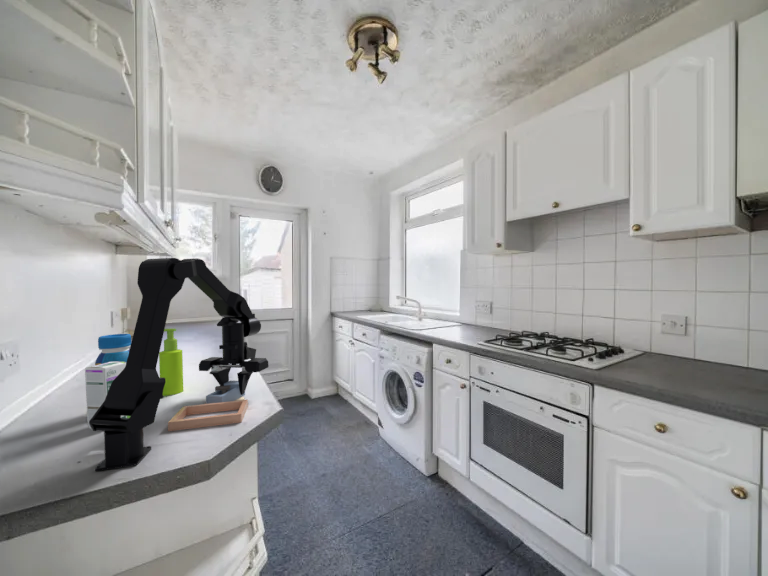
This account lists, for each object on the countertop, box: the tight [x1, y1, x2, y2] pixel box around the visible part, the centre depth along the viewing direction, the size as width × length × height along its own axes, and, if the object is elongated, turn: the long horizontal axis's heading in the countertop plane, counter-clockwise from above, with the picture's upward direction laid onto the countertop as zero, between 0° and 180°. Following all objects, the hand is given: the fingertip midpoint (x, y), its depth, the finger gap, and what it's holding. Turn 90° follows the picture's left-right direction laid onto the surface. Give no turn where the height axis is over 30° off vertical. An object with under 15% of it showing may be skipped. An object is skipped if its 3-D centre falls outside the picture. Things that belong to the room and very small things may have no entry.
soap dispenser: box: [158, 328, 184, 397], centre depth 98 cm, size 6×7×20 cm
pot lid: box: [204, 385, 246, 404], centre depth 89 cm, size 10×10×5 cm
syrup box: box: [84, 361, 130, 430], centre depth 77 cm, size 6×6×14 cm
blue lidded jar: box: [94, 333, 132, 366], centre depth 86 cm, size 8×8×20 cm
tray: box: [167, 399, 249, 432], centre depth 78 cm, size 10×15×2 cm, turn 105°
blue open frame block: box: [205, 380, 246, 404], centre depth 90 cm, size 10×5×4 cm, turn 171°
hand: (234, 394), depth 94 cm, fingers closed on blue open frame block, 5 cm apart
